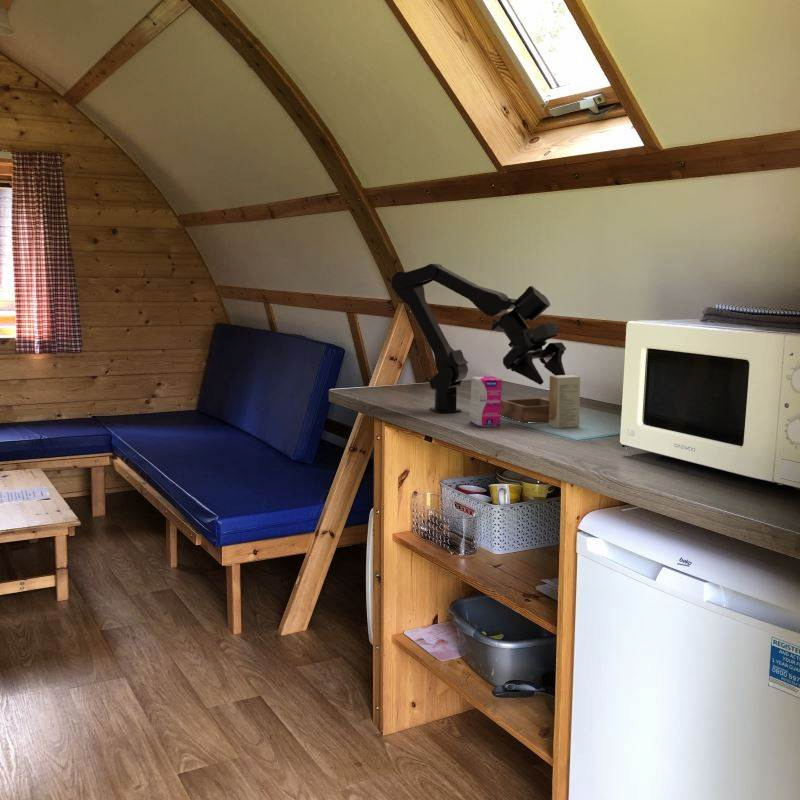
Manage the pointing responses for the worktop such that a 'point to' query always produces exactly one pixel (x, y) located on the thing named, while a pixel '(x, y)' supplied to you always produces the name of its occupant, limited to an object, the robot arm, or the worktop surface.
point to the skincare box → (564, 401)
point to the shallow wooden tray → (526, 409)
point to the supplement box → (485, 401)
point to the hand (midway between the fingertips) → (553, 381)
